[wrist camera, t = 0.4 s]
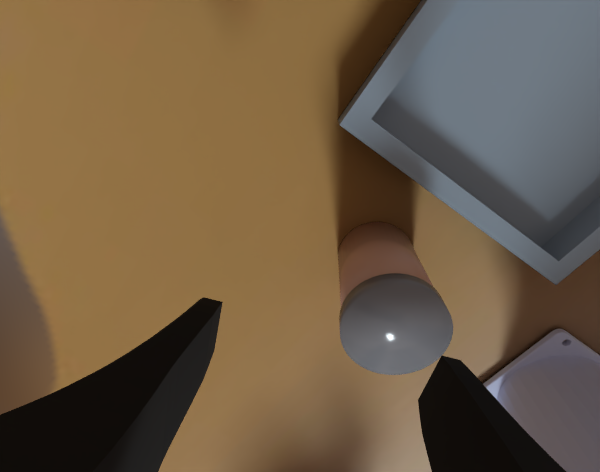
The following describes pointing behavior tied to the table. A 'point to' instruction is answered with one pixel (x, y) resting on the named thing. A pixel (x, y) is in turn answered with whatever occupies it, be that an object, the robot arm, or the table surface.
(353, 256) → the shaker
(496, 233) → the tray
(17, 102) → the table surface
